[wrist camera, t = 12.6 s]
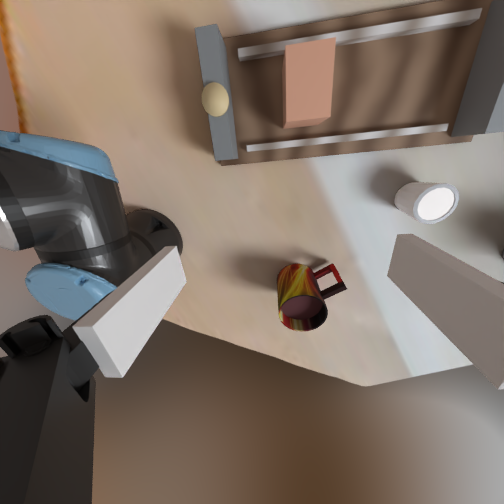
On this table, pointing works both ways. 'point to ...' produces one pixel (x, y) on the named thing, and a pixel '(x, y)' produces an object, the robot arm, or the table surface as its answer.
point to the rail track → (360, 82)
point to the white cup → (427, 201)
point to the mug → (304, 296)
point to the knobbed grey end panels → (467, 121)
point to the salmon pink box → (307, 82)
